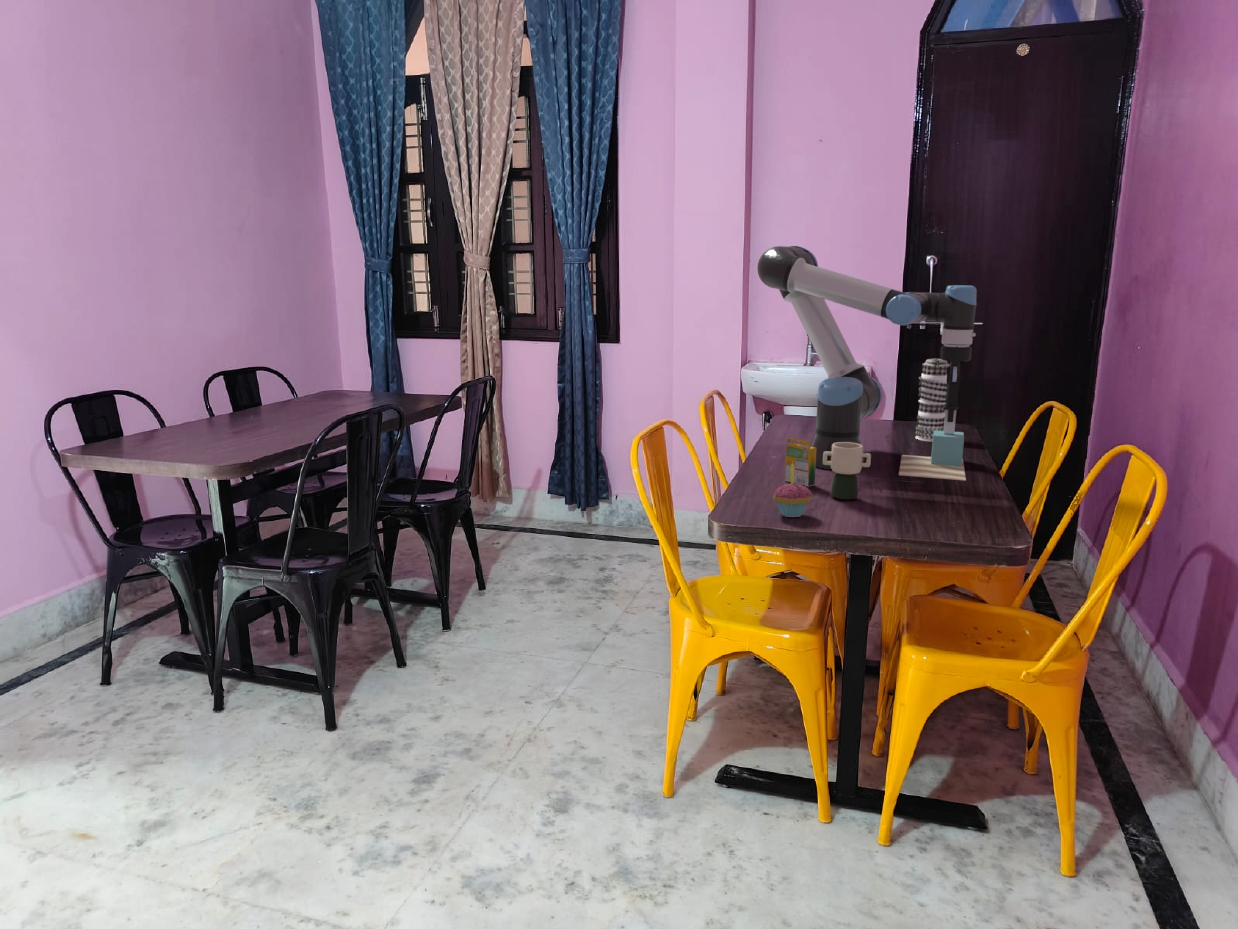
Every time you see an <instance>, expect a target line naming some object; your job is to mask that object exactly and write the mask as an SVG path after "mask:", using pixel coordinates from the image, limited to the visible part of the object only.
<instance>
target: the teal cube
mask: <svg viewBox="0 0 1238 929" xmlns="http://www.w3.org/2000/svg"><path fill="white" fill-rule="evenodd" d="M964 443H965V434H964V432H963V431H954V434H944V433H943V431H936V430H934V432H933V442H932V445H931V446H932V447H931V456H930V457H931V464H936V465H949V466H961V465H962V459H963V453H964Z"/></svg>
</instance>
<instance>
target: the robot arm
mask: <svg viewBox="0 0 1238 929" xmlns="http://www.w3.org/2000/svg"><path fill="white" fill-rule="evenodd" d="M757 274H758V278H759V279H760V281H761V282H762V283H763V284H764V285H765V286H767V287H768V288H770V289H771V288H772V289H775V290H779V292H780V294H781V296H782V297H781V298H783V300H784V301H785V302H787V303H791V305H792V307H793V308H794V311H795V312H796V314H797V317H798V318H799V320H800V323H801V324H802V327H803V328H804V330H805V333H806V334H807V336H808V339H809V340H810V343H811V344H812V347H813V348H814V351H815V352H816V354H817V357H818V358H819V360H820V363H821V364H822V366H823V368H824V371H825V372H826V375H827V377H828V378H825V379H824V380H822V381H821V382H820V383H819V385H818V391H817V394H816V397H817V399H816V400H817V402H816V423H815V425H816V426H815V436H814V439H813V441H812V445H810V447H815V448H817V450H816V467H815V468H818V467H819V468H818V469H822V468H824V470H830V469H831V465H824V464H823V453H824V452H825V451H829V452H832V444H833V443H838V442H851V443H857V444H861V445H862V443H861V440H860V430H861V420H862V419H866V418H868V417H870V416H871V415H873V414H874V413H875V412H877V410H878V409H879V408H880V407H881V404H882V400H883V390H882V389H883V388H882V386H881V385H880V383H879V382H878V381H877V380H876V379H875V378H873V377H871V376H870V375H869V373H868V371H867V369H866V367H865V365H863V364H861V363H858V362H857V361H856V360H855V357H854V356H853V354H852V352H851V349H850V348H849V345H848V344H847V342H846V339H845V337H844V335H843V333H842V332H841V330H840V328H839V325H838V323H837V321H836V320H835V318H834V316H833V314H832V312H831V310H830V308H829V306H828V304H827V301H830V302H832V303H835V304H839V305H841V306H846V307H849V308H852V309H855V310H857V311H861V312H865V313H868V314H871V315H874V316H877V317H880V318H883V319H885V320H888V321H890V322H891V323H892V324H894V325H898V326H909V325H911V324H915V323H919V322H920V323H921V322H935V323H936V322H937V323H938V322H940V323H942V324H943V326H942V327H943V328H942V333H941V344H942V346H941V347H940V348H941V349H940V358H939V359H942V360H944V361H947V362H950V363H949V365H950V366H949V367H947V369H946V373H947V380H946V381H947V384H948V387H947V388H946V389H947V392H946V394H947V398H946V399H945V400H946V404H945V407H943V410H945V420H944V421H943V422H944V426H943V427H944V431H943V433H944V434H954V432H956V431H955V429H956V419H957V417H956V416H957V410H959V408H960V406H958V396H959V388H960V385H961V384H962V383H961V381H962V375H963V371H964V368H963V367H962V366H961V362H969V361H971V360H972V352H973V350H972V349H973V348H972V346H971V345H972V344H973V337H976V336H977V335H976V332H974V328H975V316H976V309H977V305H978V304H977V290H978V289H977V288H976V287H975V286H974V285H963V284H962V285H959V284H957V285H956V284H955V285H954V284H953V285H947V286H946V289H945V291H944V292H920V291H919V292H918V291H909V292H903V291H900V290H896V289H893V288H889V287H886V286H884V285H883V286H882V285H880V284H877V283H873V282H869V281H866V280H863V279H859V278H856V277H853V276H850V275H846V274H844V273H841V272H836V271H833V270H830V269H826V268H823V267H820V266H819V264H818V260H817V258H816V256H815V255H814V253H813V252H811V251H810V249H807V248H805V247H802V246H798V245H791V246H785V245H784V246H783V245H779V246H776V245H775V246H773V247H770V248H768V249H767V250H765V251H764V252H763V253H762V254H761V256H760V258H759V259H758V261H757ZM827 461H831V456H829V455H828V456H827ZM862 463H865V457H863V458H862Z"/></svg>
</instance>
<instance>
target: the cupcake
mask: <svg viewBox="0 0 1238 929" xmlns="http://www.w3.org/2000/svg"><path fill="white" fill-rule="evenodd" d="M772 499H773V500H774V501H775V502H776V504H777V507H778V509H779V514H780V513H782V514H784V515H787V516H799V515H802V514H803V515H804V512H805V510H806V507H807V506H808V504H810V503H811V502H812V501H813V492H812V491H811V490H810V489H809V487H806V486H802V485H798V484H794V465H793V461H792V465H791V483H784V484H781V485H780V486H778V487H777V488H775V490H774V493H773V496H772ZM803 515H802V516H803Z"/></svg>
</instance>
